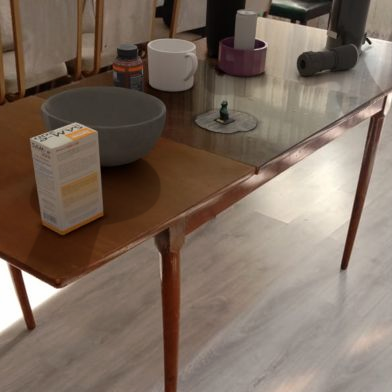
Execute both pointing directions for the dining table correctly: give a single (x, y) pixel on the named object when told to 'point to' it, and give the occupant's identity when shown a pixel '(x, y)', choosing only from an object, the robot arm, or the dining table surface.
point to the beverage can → (245, 29)
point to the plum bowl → (242, 58)
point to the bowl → (110, 119)
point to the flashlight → (328, 60)
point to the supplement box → (68, 177)
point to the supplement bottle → (128, 68)
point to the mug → (171, 64)
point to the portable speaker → (220, 22)
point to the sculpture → (226, 120)
